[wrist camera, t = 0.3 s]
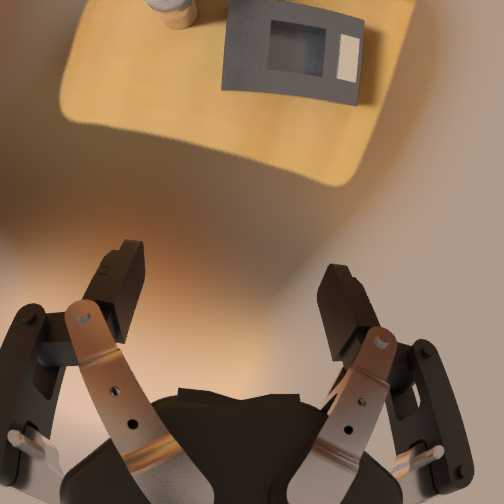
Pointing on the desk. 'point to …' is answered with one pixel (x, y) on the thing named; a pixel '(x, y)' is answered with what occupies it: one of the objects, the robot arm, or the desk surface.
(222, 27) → the desk surface
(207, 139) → the desk surface
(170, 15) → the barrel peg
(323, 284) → the robot arm
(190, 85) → the desk surface
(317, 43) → the rack block
